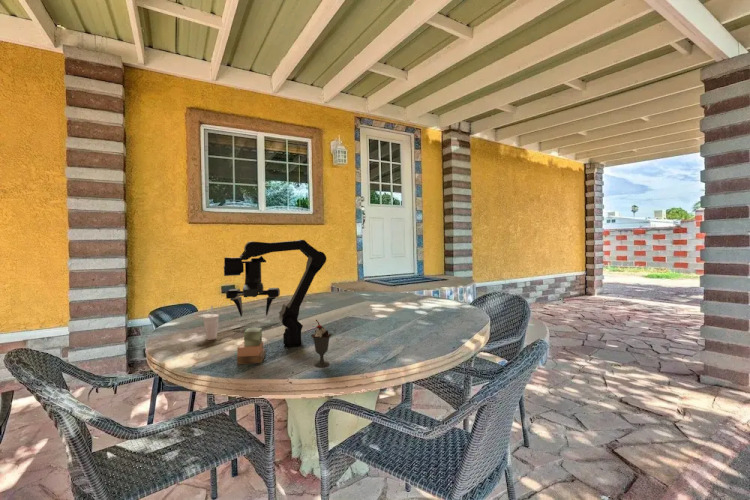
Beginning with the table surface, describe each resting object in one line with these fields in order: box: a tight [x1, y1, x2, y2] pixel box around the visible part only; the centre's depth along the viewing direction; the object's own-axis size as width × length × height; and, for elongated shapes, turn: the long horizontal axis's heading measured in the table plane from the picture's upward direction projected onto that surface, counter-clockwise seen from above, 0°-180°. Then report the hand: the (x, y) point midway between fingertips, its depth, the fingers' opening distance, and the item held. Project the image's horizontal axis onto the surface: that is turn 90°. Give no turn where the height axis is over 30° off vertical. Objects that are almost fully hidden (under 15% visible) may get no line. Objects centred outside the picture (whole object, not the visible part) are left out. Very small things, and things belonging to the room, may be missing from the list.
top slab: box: [236, 340, 264, 357], centre depth 128 cm, size 7×7×3 cm
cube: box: [243, 327, 263, 347], centre depth 128 cm, size 5×5×5 cm
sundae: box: [310, 319, 332, 368], centre depth 122 cm, size 7×7×15 cm
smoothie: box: [202, 305, 220, 341], centre depth 155 cm, size 6×6×14 cm
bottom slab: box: [236, 348, 266, 365], centre depth 128 cm, size 8×8×3 cm
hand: (254, 315), depth 139 cm, fingers open, 9 cm apart
